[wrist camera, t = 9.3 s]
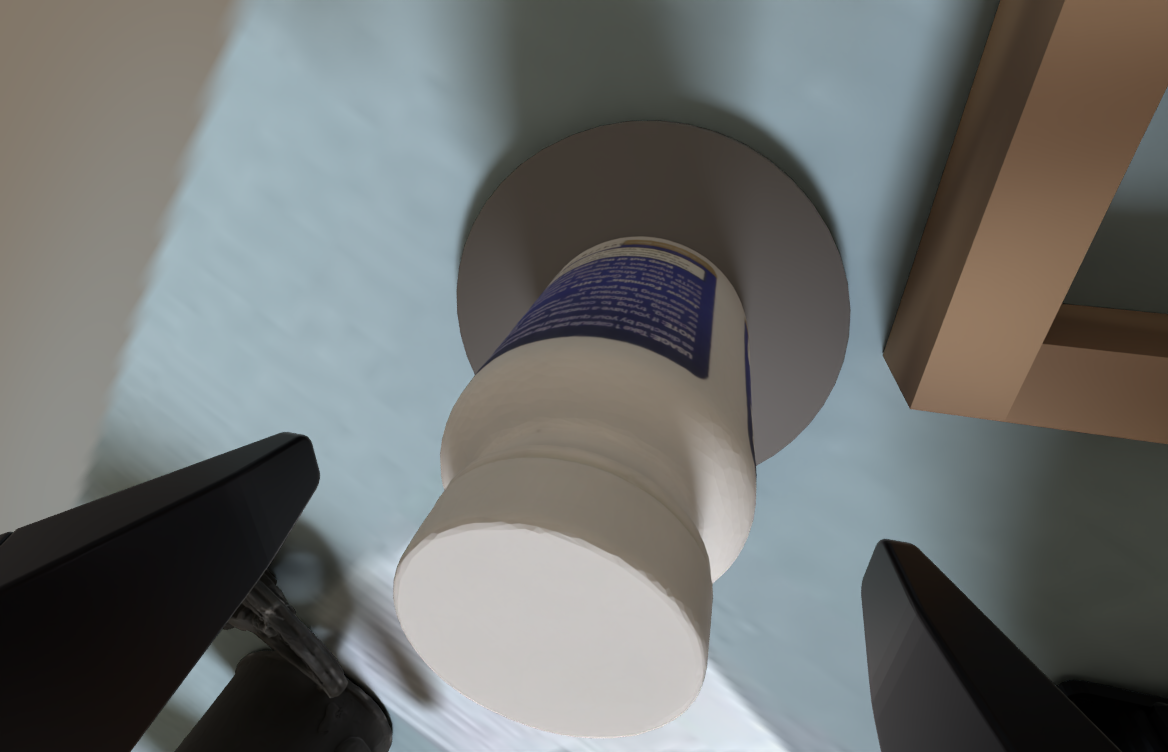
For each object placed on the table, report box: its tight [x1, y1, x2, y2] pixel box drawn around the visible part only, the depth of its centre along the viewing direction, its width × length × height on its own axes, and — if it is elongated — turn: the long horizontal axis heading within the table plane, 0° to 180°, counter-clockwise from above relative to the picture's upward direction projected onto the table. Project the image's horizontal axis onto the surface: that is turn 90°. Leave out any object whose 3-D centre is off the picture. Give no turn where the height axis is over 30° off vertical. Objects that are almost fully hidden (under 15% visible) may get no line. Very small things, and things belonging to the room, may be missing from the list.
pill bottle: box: [393, 236, 757, 738], centre depth 10 cm, size 5×5×9 cm
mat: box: [457, 120, 850, 466], centre depth 14 cm, size 10×10×1 cm
